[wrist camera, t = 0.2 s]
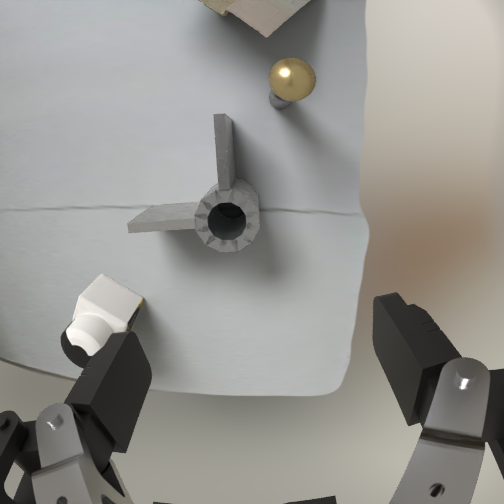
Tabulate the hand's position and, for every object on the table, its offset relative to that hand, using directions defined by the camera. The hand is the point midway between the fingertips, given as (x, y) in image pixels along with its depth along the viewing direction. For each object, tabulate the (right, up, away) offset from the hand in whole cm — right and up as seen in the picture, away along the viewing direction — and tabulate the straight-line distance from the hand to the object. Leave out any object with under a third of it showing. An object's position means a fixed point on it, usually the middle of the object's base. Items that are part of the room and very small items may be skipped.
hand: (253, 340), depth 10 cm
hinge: (-6, +11, +26) cm, 29 cm away
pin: (+3, +20, +22) cm, 30 cm away
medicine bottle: (-20, -4, +32) cm, 38 cm away
